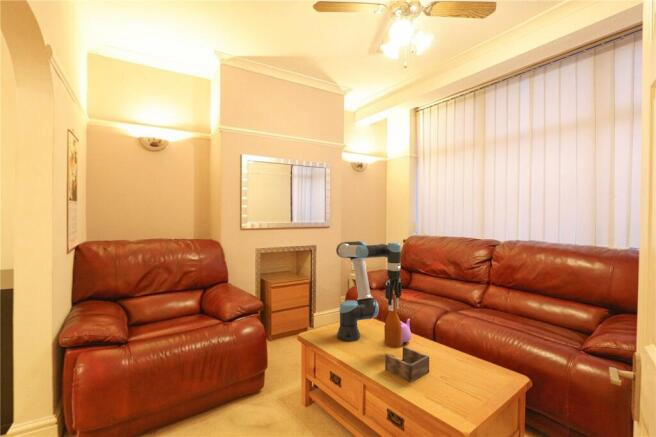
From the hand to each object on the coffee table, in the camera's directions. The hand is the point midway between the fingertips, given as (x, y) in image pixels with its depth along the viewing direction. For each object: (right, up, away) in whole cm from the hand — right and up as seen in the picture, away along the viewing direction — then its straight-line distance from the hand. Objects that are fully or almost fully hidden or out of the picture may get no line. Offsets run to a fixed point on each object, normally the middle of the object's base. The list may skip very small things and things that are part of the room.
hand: (393, 309), depth 181 cm
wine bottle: (0, -21, +1) cm, 21 cm away
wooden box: (+3, -27, -18) cm, 33 cm away
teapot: (+9, -26, +21) cm, 35 cm away
